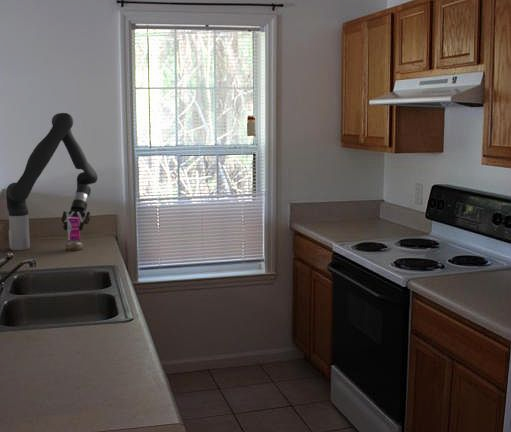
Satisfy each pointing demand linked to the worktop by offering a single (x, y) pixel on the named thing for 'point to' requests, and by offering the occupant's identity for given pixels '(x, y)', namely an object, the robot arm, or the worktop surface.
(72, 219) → the supplement box
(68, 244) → the base block
